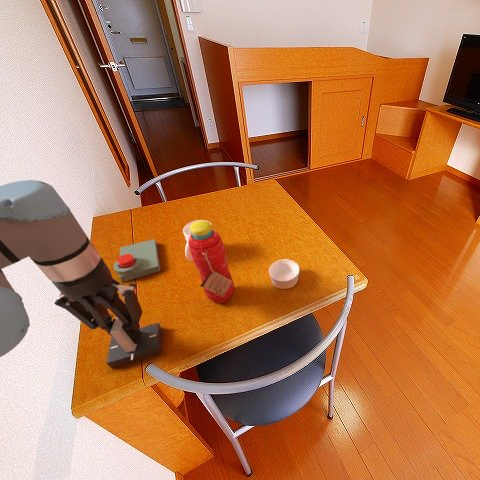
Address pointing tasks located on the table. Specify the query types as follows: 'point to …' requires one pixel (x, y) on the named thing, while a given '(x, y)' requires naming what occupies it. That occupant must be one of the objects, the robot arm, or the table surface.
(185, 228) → the mug
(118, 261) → the button
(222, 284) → the water bottle
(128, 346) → the knob
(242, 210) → the table surface
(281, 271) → the ramekin
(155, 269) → the housing
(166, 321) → the table surface
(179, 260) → the table surface
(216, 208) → the table surface
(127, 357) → the panel
